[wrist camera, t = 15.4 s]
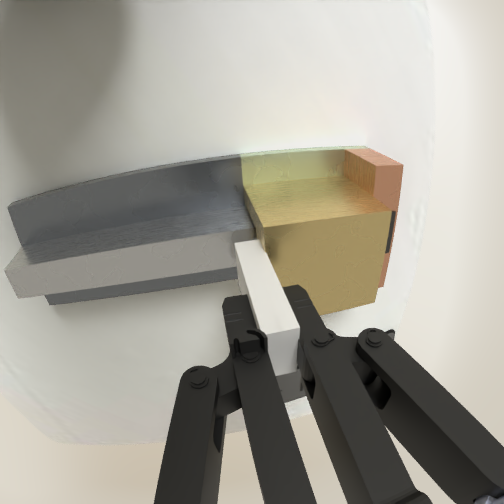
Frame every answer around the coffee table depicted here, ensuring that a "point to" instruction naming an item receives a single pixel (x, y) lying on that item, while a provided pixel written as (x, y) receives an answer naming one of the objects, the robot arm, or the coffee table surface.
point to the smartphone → (291, 381)
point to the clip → (322, 237)
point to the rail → (131, 208)
